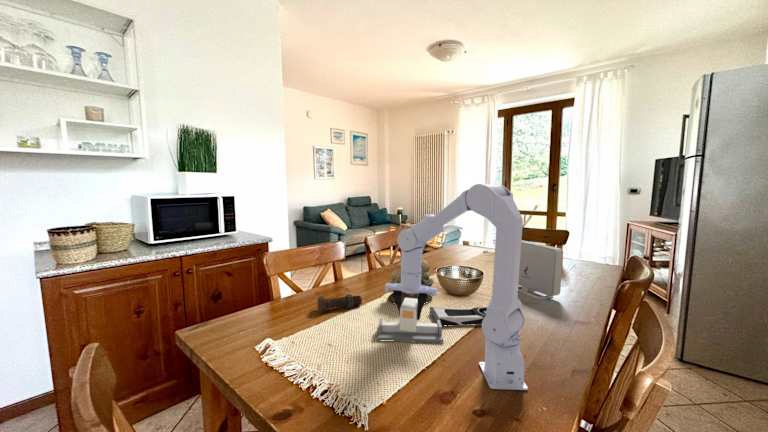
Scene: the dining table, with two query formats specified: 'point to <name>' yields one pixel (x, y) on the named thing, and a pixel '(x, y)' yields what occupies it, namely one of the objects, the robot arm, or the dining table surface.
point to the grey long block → (410, 332)
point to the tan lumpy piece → (424, 280)
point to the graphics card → (459, 315)
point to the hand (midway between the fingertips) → (409, 317)
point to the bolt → (338, 302)
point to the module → (409, 314)
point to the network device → (540, 269)
